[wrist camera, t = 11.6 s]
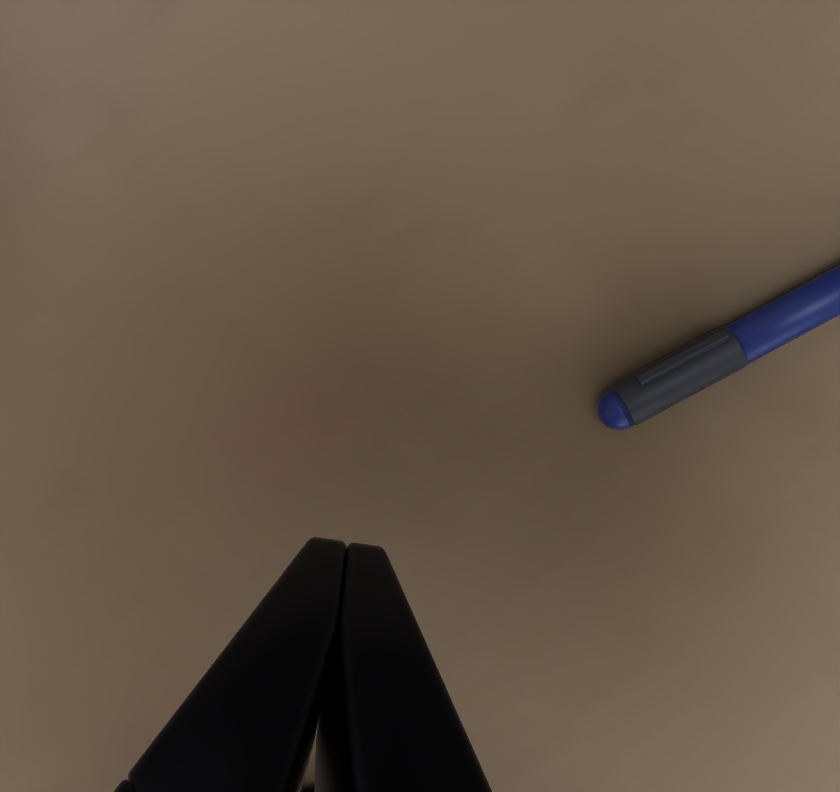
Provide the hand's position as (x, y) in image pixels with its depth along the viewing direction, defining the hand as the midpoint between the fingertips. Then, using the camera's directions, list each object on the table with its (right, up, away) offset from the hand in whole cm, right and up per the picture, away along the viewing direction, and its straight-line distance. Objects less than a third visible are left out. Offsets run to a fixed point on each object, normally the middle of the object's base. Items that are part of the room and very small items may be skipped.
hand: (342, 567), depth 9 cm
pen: (+12, +5, +11) cm, 16 cm away
